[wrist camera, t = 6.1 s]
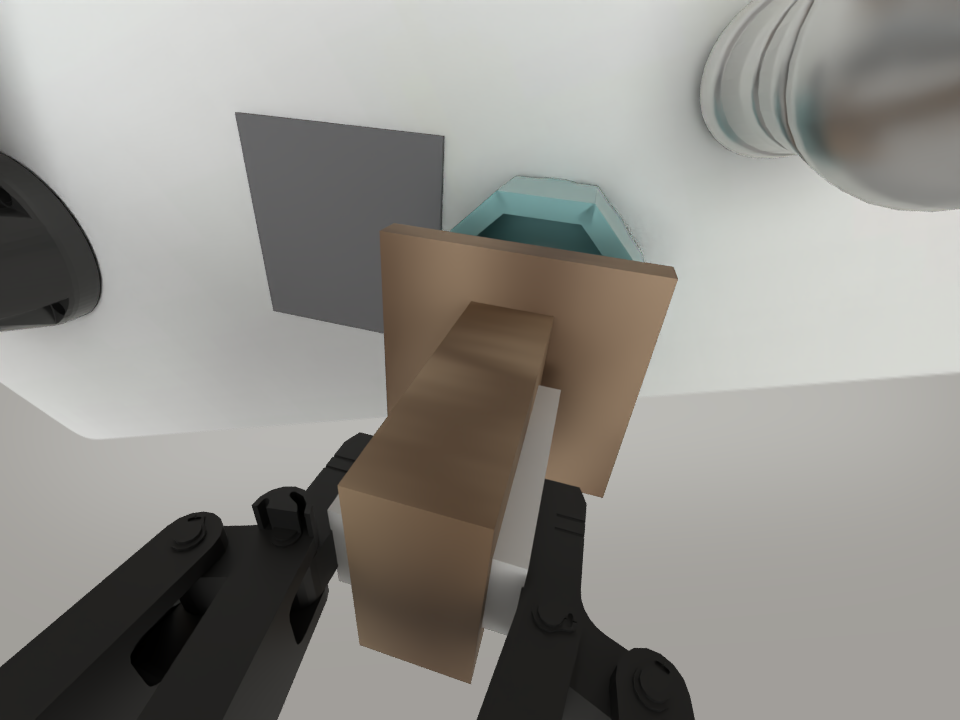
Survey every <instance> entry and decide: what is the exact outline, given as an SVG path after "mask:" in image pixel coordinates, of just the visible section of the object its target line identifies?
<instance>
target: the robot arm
mask: <svg viewBox="0 0 960 720" xmlns="http://www.w3.org/2000/svg"><path fill="white" fill-rule="evenodd" d="M99 294H100V279H99V273H98V269H97V265H96V262H95V259H94V256H93V254H92V251H91V249H90V247H89V245H88V243H87V241H86V239H85V237H84V235H83V233H82V232H81V230H80V228H79V227H78V225H77V223H76V222H75V220H74V219H73V218H72V216H71V215H70V213H69V212H68V211H67V209H66V208H65V207H64V206H63V204H62V203H61V202H60V201H59V200H58V198H57V197H56V196H55V195H54V194H53V193H52V192H51V191H50V190H49V189H48V188H47V187H46V186H45V185H44V184H43V183H42V182H41V181H40V180H39V179H38V178H37V177H36V176H34V175H33V174H32V173H31V172H29V171H28V170H27V169H26V168H24V167H23V166H22V165H20V164H19V163H17V162H16V161H14V160H12V159H11V158H9V157H7V156H6V155H4V154H2V153H0V332H2V331H11V330H20V329H29V328H38V327H47V326H55V325H59V324H63V323H66V322H68V321H71V320H73V319H76V318H78V317H81V316H83V315H86V314H88V313H89V312H91V311H92V310H93V308H94V307H95V306H96V304H97V302H98V299H99ZM560 393H561V390H559V389H554V388H549V387H545V386H540V385H539V386H538V390H537V394H536V397H535V401H534V405H533V409H532V412H531V416H530V420H529V424H528V427H527V431H526V435H525V439H524V442H523V446H522V450H521V454H520V458H519V461H518V465H517V469H516V473H515V476H514V480H513V484H512V488H511V491H510V495H509V499H508V503H507V506H506V510H505V514H504V518H503V521H502V525H501V529H500V533H499V537H498V540H497V544H496V548H495V552H494V555H493V559H492V565H491V572H490V578H489V584H488V591H487V597H486V603H485V609H484V616H483V622H482V628H485V629H488V630H492V631H495V632H498V633H501V634H504V635H507V638H506V640H505V643H504V646H503V649H502V652H501V654H500V657H499V660H498V663H497V665H496V668H495V671H494V673H493V676H492V679H491V682H490V685H489V687H488V691H487V693H486V696H485V698H484V701H483V704H482V707H481V709H480V712H479V715H478V718H477V720H695V718H694V713H693V708H692V704H691V699H690V695H689V692H688V689H687V687H686V684H685V681H684V679H683V677H682V676H681V675H680V673H679V672H678V670H677V669H676V668H675V666H674V665H673V664H672V663H671V662H670V661H668V660H667V659H666V658H665V657H663V656H662V655H661V654H659V653H657V652H655V651H652V650H649V649H647V648H633V649H631V650H630V651H628V650H627V649H625V648H624V647H622V646H621V645H619V644H618V643H616V642H615V641H614V640H612V639H611V638H609V637H608V636H606V635H605V634H604V633H603V632H601V631H600V630H599V629H598V628H597V627H596V626H595V625H594V624H593V622H592V621H591V620H590V619H589V617H588V615H587V613H586V612H585V610H584V607H583V603H582V600H581V578H582V563H583V548H584V533H585V518H586V502H585V499H584V497H583V495H582V492H581V489H580V487H576V486H572V485H568V484H564V483H560V482H556V481H552V480H549V479H545V475H546V469H547V464H548V458H549V453H550V447H551V442H552V437H553V431H554V426H555V420H556V415H557V409H558V404H559V399H560ZM372 437H373V436H372V435H368V434H364V433H358V434H356V435H355V436H353V437H352V438H350V439H348V440H347V441H345V442H344V443H343V445H342V446H341V447H340V449H339V450H338V451H337V452H336V453H335V455H334V457H332V458H331V460H330V461H329V462H328V464H327V465H326V468H323V470H322V471H321V472H320V473H319V475H318V476H317V477H316V478H315V480H314V481H313V482H312V484H311V485H310V486H309V487H308V489H307V490H306V491H305V490H303V489H300V488H297V487H281V488H277V489H274V490H271V491H269V492H267V493H266V494H264V495H262V496H260V497H259V498H258V499H257V500H256V502H255V503H253V505H252V508H253V511H254V514H255V518H256V521H257V524H258V525H251V526H249V525H248V526H223V523H222V521H221V519H220V518H219V517H218V516H217V515H215V514H214V513H209V512H198V513H192V514H189V515H186V516H184V517H181V518H179V519H177V520H176V521H174V522H173V523H171V524H170V525H168V526H167V527H166V528H165V529H163V530H162V531H161V532H160V533H159V534H157V535H156V536H155V537H154V538H153V539H151V540H150V541H149V542H148V543H147V544H145V545H144V546H143V547H142V548H141V549H140V550H138V551H137V552H136V553H135V554H134V555H132V556H131V557H130V558H129V559H128V560H127V561H125V562H124V563H123V564H122V565H121V566H119V567H118V568H117V569H116V570H115V571H114V572H112V573H111V574H110V575H109V576H108V577H106V578H105V579H104V580H103V581H102V582H101V583H99V584H98V585H97V586H96V587H95V588H93V589H92V590H91V591H90V592H89V593H88V594H86V595H85V596H84V597H83V598H82V599H80V600H79V601H78V602H77V603H76V604H74V605H73V606H72V607H71V608H70V609H69V610H67V611H66V612H65V613H64V614H63V615H61V616H60V617H59V618H58V619H57V620H56V621H54V622H53V623H52V624H51V625H50V626H48V627H47V628H46V629H45V630H44V631H43V632H41V633H40V634H39V635H38V636H37V637H35V638H34V639H33V640H32V641H31V642H29V643H28V644H27V645H26V646H25V647H24V648H22V649H21V650H20V651H19V652H18V653H16V654H15V655H14V656H13V657H12V658H11V659H9V660H8V661H7V662H6V663H5V664H3V665H2V666H1V667H0V720H277V719H278V717H279V714H280V712H281V709H282V707H283V704H284V702H285V700H286V697H287V695H288V692H289V690H290V688H291V685H292V683H293V680H294V678H295V676H296V673H297V671H298V668H299V666H300V663H301V661H302V659H303V656H304V654H305V651H306V649H307V646H308V644H309V642H310V639H311V637H312V634H313V632H314V630H315V627H316V625H317V623H318V620H319V618H320V615H321V613H322V610H323V608H324V606H325V603H326V601H327V597H328V592H329V589H328V583H329V581H330V579H331V578H332V576H333V574H334V572H335V571H336V569H337V572H338V578H339V581H342V582H345V583H348V584H351V579H350V572H349V565H348V557H347V550H346V543H345V536H344V529H343V522H342V515H341V507H340V500H339V493H338V486H337V485H338V484H339V483H340V481H341V480H342V479H343V477H344V476H345V474H346V473H347V472H348V470H349V469H350V468H351V466H352V465H353V463H354V462H355V461H356V459H357V458H358V457H359V455H360V454H361V452H362V451H363V450H364V448H365V447H366V445H367V444H368V443H369V441H370V440H371V439H372Z"/></svg>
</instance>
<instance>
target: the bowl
mask: <svg viewBox="0 0 960 720" xmlns="http://www.w3.org/2000/svg"><path fill="white" fill-rule="evenodd" d="M450 232H454V233H461V234H467V235H473V236H480V237H486V238H492V239H499V240H505V241H512V242H518V243H524V244H531V245H537V246H543V247H550V248H556V249H563V250H569V251H575V252H582V253H588V254H594V255H601V256H607V257H613V258H620V259H626V260H633V261H639V262H644V259H643V255H642V252H641V251H640V249H639V248H638V246H637V245H636V243H635V242H634V240H633V239H632V237H631V236H630V234H629V232H628V231H627V228H626V226H625V224H624V223H623V221H622V219H621V217H620V216H619V214H618V213H617V212H616V210H615V209H614V208H613V207H612V206H611V205H610V204H609V202H608V201H607V199H606V198H605V196H604V195H603V193H602V192H601V190H600V189H599V187H598V186H592V185H585V184H578V183H575V182H573V181H569V180H564V179H559V178H530V177H522V176H515V177H514V178H513V179H511V180H510V181H509V182H507V183H506V184H505V185H503V186H502V187H501V188H499V189H498V190H497V191H496V192H495V193H494V194H492V195H491V196H490V197H489V198H488V199H487V200H486V201H484V202H483V203H482V204H481V205H480V206H479V207H477V208H476V209H475V210H474V211H473V212H472V213H470V214H469V215H468V216H467V217H466V218H465V219H463V220H462V221H461V222H460V223H459V224H458V225H457V226H455V227H454V228H453V229H452V230H451V231H450Z"/></svg>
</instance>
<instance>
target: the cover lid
mask: <svg viewBox="0 0 960 720" xmlns="http://www.w3.org/2000/svg"><path fill="white" fill-rule="evenodd" d="M379 232H380V255H381V277H382V300H383V322H384V345H385V367H386V390H387V412H388V417H387V418H386V419H385V421H384V422H383V423H382V425H381V426H380V428H379V429H378V430H377V432H376V433H375V434H374V436H373V437H372V439H371V440H370V441H369V443H368V444H367V445H366V447H365V448H364V450H363V451H362V452H361V454H360V455H359V457H358V458H357V459H356V461H355V462H354V463H353V465H352V466H351V468H350V469H349V470H348V472H347V473H346V474H345V476H344V477H343V479H342V480H341V481H340V483H339V484H338V485H337V486H338V493H339V500H340V507H341V515H342V522H343V529H344V536H345V543H346V550H347V557H348V565H349V572H350V579H351V585H352V593H353V599H354V607H355V614H356V622H357V628H358V636H359V643H360V645H361V646H365V647H367V648H370V649H373V650H376V651H379V652H381V653H384V654H387V655H390V656H392V657H395V658H398V659H401V660H404V661H407V662H409V663H412V664H415V665H418V666H421V667H424V668H426V669H429V670H432V671H435V672H438V673H441V674H444V675H446V676H449V677H452V678H455V679H457V680H460V681H463V682H466V683H469V684H471V680H472V676H473V672H474V668H475V664H476V660H477V656H478V652H479V648H480V644H481V640H482V636H483V632H484V628H482V622H483V616H484V609H485V603H486V597H487V591H488V584H489V578H490V572H491V565H492V559H493V555H494V552H495V548H496V544H497V540H498V537H499V533H500V529H501V525H502V521H503V518H504V514H505V510H506V506H507V503H508V499H509V495H510V491H511V488H512V484H513V480H514V476H515V473H516V469H517V465H518V461H519V458H520V454H521V450H522V446H523V442H524V439H525V435H526V431H527V427H528V424H529V420H530V416H531V412H532V409H533V405H534V401H535V397H536V394H537V390H538V386H539V385H540V386H545V387H549V388H554V389H559V390H561V393H560V399H559V404H558V409H557V415H556V420H555V426H554V431H553V437H552V442H551V447H550V453H549V458H548V464H547V469H546V475H545V479H549V480H552V481H556V482H560V483H564V484H568V485H572V486H576V487H580V489H581V492H582V493H586V494H590V495H594V496H598V497H601V498H603V496H604V493H605V490H606V487H607V484H608V481H609V478H610V475H611V472H612V469H613V467H614V464H615V461H616V458H617V455H618V452H619V449H620V446H621V443H622V440H623V438H624V434H625V432H626V428H627V426H628V423H629V420H630V417H631V414H632V411H633V408H634V405H635V402H636V400H637V397H638V394H639V391H640V388H641V385H642V382H643V379H644V376H645V374H646V371H647V368H648V365H649V362H650V359H651V356H652V353H653V350H654V347H655V344H656V342H657V339H658V336H659V333H660V330H661V327H662V324H663V321H664V318H665V315H666V312H667V310H668V307H669V304H670V301H671V298H672V295H673V292H674V289H675V286H676V283H677V281H678V278H677V275H676V272H675V270H674V267H671V266H664V265H658V264H652V263H645V262H639V261H633V260H626V259H620V258H613V257H607V256H601V255H594V254H588V253H582V252H575V251H569V250H563V249H556V248H550V247H543V246H537V245H531V244H524V243H518V242H512V241H505V240H499V239H492V238H486V237H480V236H473V235H467V234H461V233H454V232H448V231H442V230H435V229H429V228H422V227H416V226H410V225H403V224H397V223H393V224H391V225H389V226H388V227H386V228H384V229H382V230H380V231H379Z"/></svg>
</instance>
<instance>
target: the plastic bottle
mask: <svg viewBox="0 0 960 720" xmlns="http://www.w3.org/2000/svg"><path fill="white" fill-rule="evenodd" d="M700 104H701V110H702V116H703V118H704V121H705V123H706V126H707V128H708V130H709V131H710V133H711V134H712V135H713V137H714V138H715V139H716V140H717V141H718V142H719V143H720V144H721V145H723V146H724V147H725V148H726V149H728V150H730V151H732V152H735V153H737V154H739V155H743V156H747V157H751V158H780V157H787V156H793V155H799V156H800V157H801V158H802V159H803V160H804V161H805V162H806V163H807V164H808V165H809V166H810V167H811V168H812V169H813V170H814V171H815V172H816V173H818V174H819V175H820V176H821V177H822V178H824V179H825V180H826V181H827V182H828V183H830V184H832V185H833V186H835V187H837V188H839V189H840V190H842V191H843V192H845V193H848V194H850V195H852V196H854V197H856V198H858V199H860V200H862V201H864V202H866V203H869V204H873V205H877V206H882V207H886V208H890V209H895V210H902V211H924V212H936V211H945V210H955V209H960V0H753V1H752V2H750V3H749V4H748V5H747V6H746V7H745V8H744V9H743V10H742V11H740V12H739V13H738V14H737V15H736V16H735V17H734V19H733V20H732V21H731V22H730V23H729V25H728V26H727V27H726V28H725V29H724V31H723V32H722V33H721V35H720V37H719V38H718V40H717V42H716V43H715V45H714V47H713V48H712V50H711V53H710V55H709V57H708V60H707V62H706V65H705V67H704V72H703V76H702V80H701V86H700Z"/></svg>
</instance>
